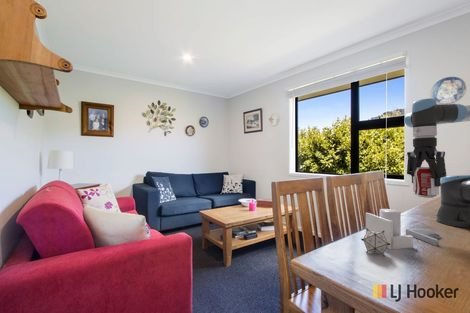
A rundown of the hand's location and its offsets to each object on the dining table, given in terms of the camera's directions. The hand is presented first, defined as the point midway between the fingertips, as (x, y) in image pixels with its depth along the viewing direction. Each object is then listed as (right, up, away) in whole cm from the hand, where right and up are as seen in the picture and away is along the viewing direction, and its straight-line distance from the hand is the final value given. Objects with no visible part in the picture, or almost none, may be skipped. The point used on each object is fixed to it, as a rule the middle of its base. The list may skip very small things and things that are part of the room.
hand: (425, 192), depth 91 cm
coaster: (0, -18, 0) cm, 18 cm away
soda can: (0, -2, 0) cm, 2 cm away
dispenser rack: (-15, -18, -5) cm, 24 cm away
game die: (-31, -18, -16) cm, 39 cm away
